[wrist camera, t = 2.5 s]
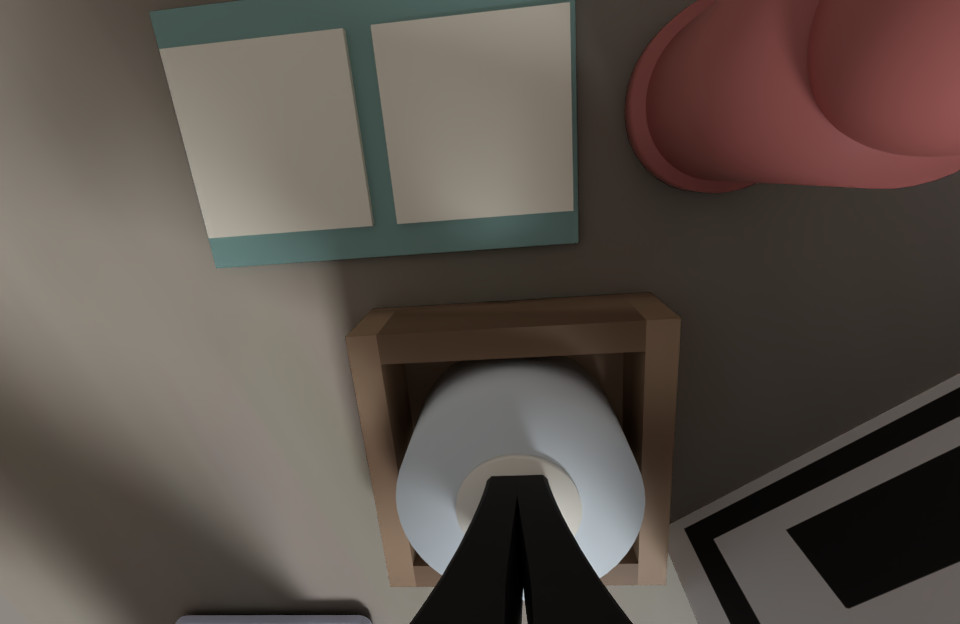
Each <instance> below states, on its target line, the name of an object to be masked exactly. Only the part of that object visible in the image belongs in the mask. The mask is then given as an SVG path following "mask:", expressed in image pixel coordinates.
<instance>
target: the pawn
mask: <svg viewBox="0 0 960 624" xmlns="http://www.w3.org/2000/svg"><path fill="white" fill-rule="evenodd" d="M625 124H626V130H627V134H628V138H629V141H630V144H631V146H632V148H633V150H634V153H635V154H636V156H637V158H638V159H639V161H640V162H641V163H642V165H643V166H644V167H645V168H646V169H647V170H648V171H649V172H650V173H651V174H652V175H654V176H655V177H656V178H657V179H659V180H661V181H662V182H664V183H666V184H668V185H670V186H673V187H675V188H679V189H683V190H688V191H696V192H705V193H723V192H730V191H735V190H739V189H742V188H746V187H748V186H751V185H753V184H756V183H770V184H790V185H810V186H830V187H850V188H870V189H895V188H902V187H909V186H915V185H919V184H923V183H927V182H931V181H934V180H937V179H940V178H942V177H945V176H948V175H950V174H953V173H955V172H957V171H959V170H960V0H698V1H696V2H695V3H693V4H691V5H690V6H688V7H687V8H685V9H684V10H683V11H682V12H680V13H679V14H678V15H677V16H675V17H674V18H673V19H672V20H671V21H670V22H669V23H668V24H667V25H666V26H664V27H663V28H662V29H661V30H660V31H659V32H658V33H657V34H656V36H655V37H654V38H653V39H652V40H651V41H650V43H649V44H648V45H647V47H646V48H645V49H644V51H643V52H642V54H641V56H640V57H639V59H638V61H637V63H636V65H635V67H634V70H633V72H632V74H631V78H630V81H629V84H628V88H627V93H626V98H625Z"/></svg>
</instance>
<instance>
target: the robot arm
mask: <svg viewBox="0 0 960 624" xmlns="http://www.w3.org/2000/svg"><path fill="white" fill-rule="evenodd" d="M523 590H524V598H525V606H526V614H527V622H528V624H633V623H632V622H631V621H630V620H629V618H628V617H627V616H626V614H625V613H624V612H623V610H622V609H621V608H620V606H619V605H618V604H617V602H616V601H615V600H614V598H613V597H612V595H611V594H610V593H609V591H608V590H607V588H606V587H605V586H604V584H603V583H602V581H601V580H600V578H599V577H598V575H597V574H596V572H595V571H594V569H593V567H592V566H591V564H590V563H589V561H588V560H587V558H586V556H585V555H584V553H583V552H582V550H581V548H580V547H579V545H578V543H577V541H576V539H575V538H574V536H573V534H572V532H571V531H570V529H569V527H568V525H567V523H566V521H565V519H564V518H563V516H562V514H561V511H560V509H559V507H558V505H557V503H556V501H555V498H554V496H553V494H552V491H551V488H550V485H549V482H548V479H547V478H546V477H545V476H544V475H514V476H491V477H490V478H489V479H488V480H487V482H486V486H485V489H484V492H483V495H482V497H481V500H480V502H479V505H478V507H477V510H476V512H475V514H474V516H473V519H472V521H471V523H470V525H469V527H468V529H467V531H466V533H465V535H464V537H463V539H462V541H461V543H460V545H459V547H458V549H457V550H456V552H455V554H454V556H453V557H452V559H451V561H450V563H449V564H448V566H447V568H446V569H445V571H444V573H443V575H442V576H441V578H440V580H439V581H438V583H437V584H436V586H435V588H434V589H433V591H432V592H431V594H430V595H429V597H428V598H427V600H426V601H425V603H424V604H423V605H422V607H421V608H420V610H419V611H418V613H417V614H416V616H415V617H414V618H413V620H412V621H411V622H410V624H521V623H522V603H523ZM175 624H372V623H371V621H370V620H369V619H368V618H367V617H365V616H362V615H186V616H182V617H180V618H179V619H178V620H177V622H176V623H175Z"/></svg>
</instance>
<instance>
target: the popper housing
mask: <svg viewBox="0 0 960 624" xmlns="http://www.w3.org/2000/svg"><path fill="white" fill-rule="evenodd" d="M680 332H681V318H680V317H679V316H678V315H677V314H675V313H674V312H673V311H672V310H671V309H670V308H668V307H667V306H666V305H665V304H664V303H663V302H661V301H660V300H659V299H658V298H657V297H656V296H654V295H653V294H652V293H651V292H645V293H628V294H611V295H595V296H578V297H562V298H545V299H528V300H512V301H495V302H478V303H462V304H445V305H428V306H412V307H395V308H379V309H372V310H371V311H370V312H369V313H368V314H367V315H366V316H365V317H364V318H363V319H362V320H361V321H360V322H359V323H358V324H357V325H356V326H355V327H354V328H353V329H352V330H351V332H350V333H349V334H348V335H347V336H346V337H345V340H346V345H347V351H348V356H349V362H350V367H351V373H352V378H353V383H354V389H355V394H356V400H357V405H358V411H359V416H360V422H361V427H362V433H363V438H364V444H365V449H366V455H367V460H368V466H369V471H370V476H371V482H372V487H373V493H374V498H375V504H376V509H377V515H378V520H379V526H380V531H381V537H382V542H383V548H384V553H385V559H386V564H387V570H388V575H389V580H390V586H391V587H435V586H436V584H437V583H438V581H439V580H440V578H441V576H442V575H441V574H439V573H438V572H437V571H435V570H434V569H433V568H432V567H430V566H429V565H428V564H427V563H426V562H425V561H424V560H423V559H422V558H421V557H420V555H419V554H418V553H417V552H416V550H415V549H414V548H413V546H412V545H411V543H410V542H409V540H408V538H407V536H406V535H405V533H404V530H403V528H402V525H401V523H400V519H399V515H398V511H397V504H396V486H397V479H398V475H399V471H400V468H401V465H402V462H403V459H404V457H405V454H406V451H407V448H408V446H409V443H410V440H411V437H412V435H413V432H414V429H415V426H416V424H417V421H418V418H419V415H420V413H421V410H422V407H423V405H424V402H425V400H426V397H427V395H428V393H429V392H430V390H431V388H432V386H433V385H434V384H435V383H436V381H437V380H438V379H439V378H440V376H441V375H442V374H443V373H445V372H446V371H447V370H448V369H449V368H450V367H451V366H453V365H454V364H456V363H457V362H458V361H465V360H485V359H505V358H526V357H546V356H566V357H568V358H569V359H571V360H573V361H575V362H576V363H578V364H579V365H580V366H582V367H583V368H584V369H586V370H587V371H588V372H589V373H590V374H591V375H592V376H593V377H594V378H595V379H596V380H597V382H598V383H599V384H600V386H601V387H602V388H603V390H604V392H605V393H606V395H607V397H608V399H609V401H610V403H611V405H612V408H613V410H614V412H615V415H616V417H617V419H618V421H619V424H620V426H621V428H622V431H623V433H624V435H625V437H626V440H627V442H628V444H629V447H630V449H631V451H632V453H633V456H634V458H635V460H636V463H637V465H638V468H639V470H640V473H641V476H642V480H643V485H644V489H645V510H644V517H643V521H642V524H641V528H640V531H639V533H638V535H637V537H636V540H635V542H634V543H633V545H632V546H631V548H630V549H629V551H628V553H627V554H626V555H625V556H624V557H623V559H622V560H621V561H620V562H619V563H618V564H617V565H616V566H615V567H614V568H613V569H611V570H610V571H609V572H608V573H607V574H605V575H604V576H602V577H601V578H600V580H601V581H602V583H603V584H604V585H666V574H667V557H668V540H669V522H670V505H671V488H672V471H673V453H674V436H675V419H676V401H677V384H678V367H679V350H680Z"/></svg>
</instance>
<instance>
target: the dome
mask: <svg viewBox="0 0 960 624" xmlns="http://www.w3.org/2000/svg"><path fill="white" fill-rule="evenodd" d="M514 475H544V476H545V477H546V478H547V479H548V482H549V485H550V488H551V491H552V494H553V496H554V498H555V501H556V503H557V505H558V507H559V509H560V511H561V514H562V516H563V518H564V519H565V521H566V523H567V525H568V527H569V529H570V531H571V532H572V534H573V536H574V538H575V539H576V541H577V543H578V545H579V547H580V548H581V550H582V552H583V553H584V555H585V556H586V558H587V560H588V561H589V563H590V564H591V566H592V567H593V569H594V571H595V572H596V574H597V575H598V577H599V578H601V577H602V576H604V575H605V574H607V573H608V572H609V571H610V570H611V569H613V568H614V567H615V566H616V565H617V564H618V563H619V562H620V561H621V560H622V559H623V557H624V556H625V555H626V554H627V553H628V551H629V549H630V548H631V546H632V545H633V543H634V542H635V540H636V537H637V535H638V533H639V531H640V528H641V524H642V521H643V517H644V510H645V489H644V485H643V480H642V476H641V473H640V470H639V468H638V465H637V463H636V460H635V458H634V456H633V453H632V451H631V449H630V447H629V444H628V442H627V440H626V437H625V435H624V433H623V431H622V428H621V426H620V424H619V421H618V419H617V417H616V415H615V412H614V410H613V408H612V405H611V403H610V401H609V399H608V397H607V395H606V393H605V392H604V390H603V388H602V387H601V386H600V384H599V383H598V382H597V380H596V379H595V378H594V377H593V376H592V375H591V374H590V373H589V372H588V371H587V370H586V369H584V368H583V367H582V366H580V365H579V364H578V363H576V362H575V361H573V360H571V359H569V358H568V357H566V356H546V357H526V358H505V359H485V360H465V361H458V362H457V363H456V364H454V365H453V366H451V367H450V368H449V369H448V370H447V371H446V372H445V373H443V374H442V375H441V376H440V378H439V379H438V380H437V381H436V383H435V384H434V385H433V386H432V388H431V390H430V392H429V393H428V395H427V397H426V400H425V402H424V405H423V407H422V410H421V413H420V415H419V418H418V421H417V424H416V426H415V429H414V432H413V435H412V437H411V440H410V443H409V446H408V448H407V451H406V454H405V457H404V459H403V462H402V465H401V468H400V471H399V475H398V479H397V486H396V504H397V511H398V515H399V519H400V523H401V525H402V528H403V530H404V533H405V535H406V536H407V538H408V540H409V542H410V543H411V545H412V546H413V548H414V549H415V550H416V552H417V553H418V554H419V555H420V557H421V558H422V559H423V560H424V561H425V562H426V563H427V564H428V565H429V566H430V567H432V568H433V569H434V570H435V571H437V572H438V573H439V574H441V575H443V573H444V571H445V569H446V568H447V566H448V564H449V563H450V561H451V559H452V557H453V556H454V554H455V552H456V550H457V549H458V547H459V545H460V543H461V541H462V539H463V537H464V535H465V533H466V531H467V529H468V527H469V525H470V523H471V521H472V519H473V516H474V514H475V512H476V510H477V507H478V505H479V502H480V500H481V497H482V495H483V492H484V489H485V486H486V482H487V480H488V479H489V478H490V477H491V476H514ZM523 600H525V598H524V590H523Z"/></svg>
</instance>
